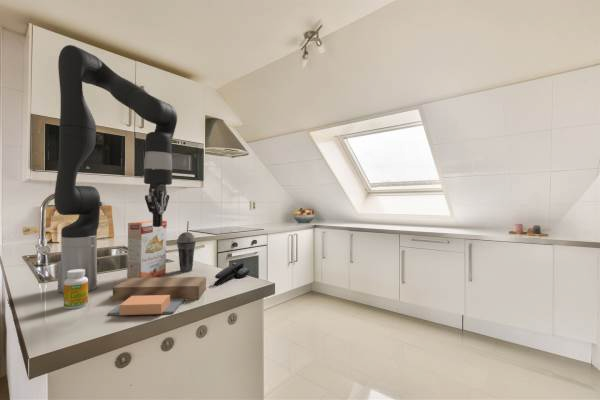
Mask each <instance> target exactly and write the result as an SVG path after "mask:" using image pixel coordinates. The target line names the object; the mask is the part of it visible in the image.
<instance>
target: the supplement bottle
mask: <svg viewBox="0 0 600 400" xmlns="http://www.w3.org/2000/svg"><path fill="white" fill-rule="evenodd" d="M84 275H85V269H74V270H70V271H67V277H68V279H66V280H65V281H64V293H63V309H66V310H76V309H80V308H81V309H82V308H84V307H86V306H87V305H88V304H89V291H88V278H87V277H84Z"/></svg>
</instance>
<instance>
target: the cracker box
mask: <svg viewBox="0 0 600 400" xmlns="http://www.w3.org/2000/svg"><path fill="white" fill-rule="evenodd" d="M167 227H168V225H167V220H163V219H162V226H160V227H153V220H143V221H134V222H128V223H127V261H126V262H127V270H126V271H127V273H126V279H128V278H158V277H159V276H162V275H165V274H166V271H167V270H166V266H167V259H166V258H167Z"/></svg>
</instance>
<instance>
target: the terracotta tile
mask: <svg viewBox="0 0 600 400" xmlns="http://www.w3.org/2000/svg"><path fill="white" fill-rule="evenodd" d="M122 302H123V303H122ZM122 302H121V303H122V304H121V303H120V304H118V305H119V315H118V316H134V315H135V316H137V315H138V316H139V314H145V315H163V314H162V312H163V311H164V310H165V309H166V308H167V307H168V306H169V304H170V295H147V296H131V297H130V298H128V299H127V300H126V301H122Z"/></svg>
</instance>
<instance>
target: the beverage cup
mask: <svg viewBox="0 0 600 400" xmlns="http://www.w3.org/2000/svg"><path fill="white" fill-rule="evenodd" d="M189 223H190V222H189V220H188V221H187V223H186V231H185V232H182V233H181V234H179V236H178V238H177V240H176V244H177V245H176V247H177V249H178V250H177V252H178V263H179V271H180V272H181V273H188V272H189V273H190V272H192V271H193V267H194V255H195V247H196V237H195V235H194V234H193V233H191V232H189V225H190V224H189Z"/></svg>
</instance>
